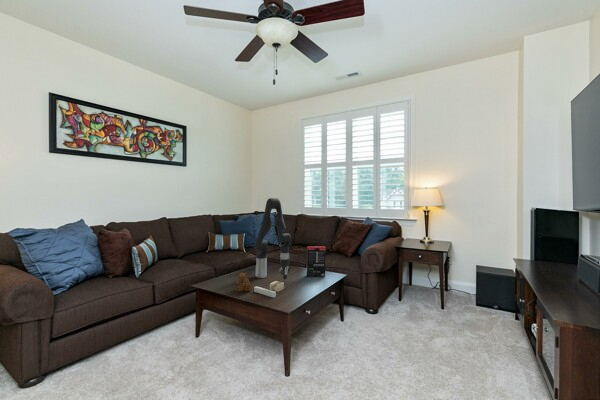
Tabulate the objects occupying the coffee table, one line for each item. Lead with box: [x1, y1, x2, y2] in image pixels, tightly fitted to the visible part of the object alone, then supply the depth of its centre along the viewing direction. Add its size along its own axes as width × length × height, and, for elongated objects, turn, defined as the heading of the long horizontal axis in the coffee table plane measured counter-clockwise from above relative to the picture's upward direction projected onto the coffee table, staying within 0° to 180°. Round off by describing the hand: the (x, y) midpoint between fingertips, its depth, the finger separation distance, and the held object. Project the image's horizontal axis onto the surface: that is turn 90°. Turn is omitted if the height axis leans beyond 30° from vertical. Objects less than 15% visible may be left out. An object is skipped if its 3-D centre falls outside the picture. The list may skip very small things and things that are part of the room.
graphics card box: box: [305, 245, 327, 278], centre depth 255 cm, size 17×7×27 cm, turn 96°
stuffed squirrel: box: [235, 272, 252, 292], centre depth 218 cm, size 10×14×13 cm
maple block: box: [269, 280, 285, 293], centre depth 220 cm, size 8×8×5 cm
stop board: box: [253, 285, 277, 298], centre depth 210 cm, size 20×2×4 cm, turn 53°
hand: (285, 279), depth 228 cm, fingers closed
